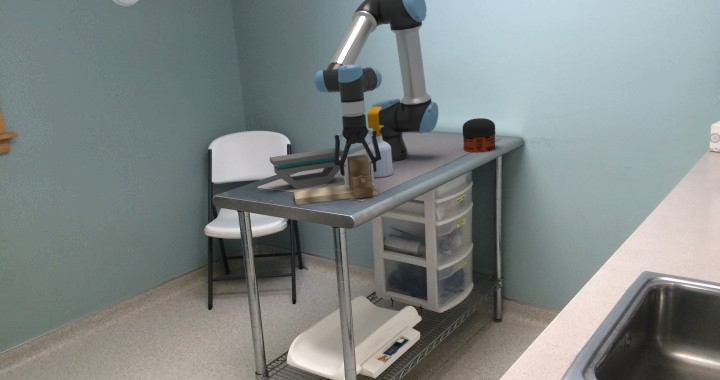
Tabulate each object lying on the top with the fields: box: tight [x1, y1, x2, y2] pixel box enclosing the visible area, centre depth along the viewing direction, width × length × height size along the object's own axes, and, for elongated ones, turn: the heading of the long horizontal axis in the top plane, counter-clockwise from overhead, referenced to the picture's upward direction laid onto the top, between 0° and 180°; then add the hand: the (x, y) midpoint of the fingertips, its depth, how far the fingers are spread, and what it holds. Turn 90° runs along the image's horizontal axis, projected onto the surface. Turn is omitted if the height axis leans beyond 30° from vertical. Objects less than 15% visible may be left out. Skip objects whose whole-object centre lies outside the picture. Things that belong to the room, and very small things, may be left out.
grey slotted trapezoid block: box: [269, 147, 344, 190], centre depth 220 cm, size 25×8×11 cm, turn 108°
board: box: [293, 183, 377, 206], centre depth 203 cm, size 26×10×2 cm, turn 100°
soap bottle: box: [365, 106, 393, 178], centre depth 222 cm, size 9×9×25 cm
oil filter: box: [462, 117, 496, 154], centre depth 252 cm, size 13×12×13 cm
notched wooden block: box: [346, 153, 374, 199], centre depth 200 cm, size 6×11×12 cm, turn 10°
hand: (359, 183), depth 203 cm, fingers open, 8 cm apart
